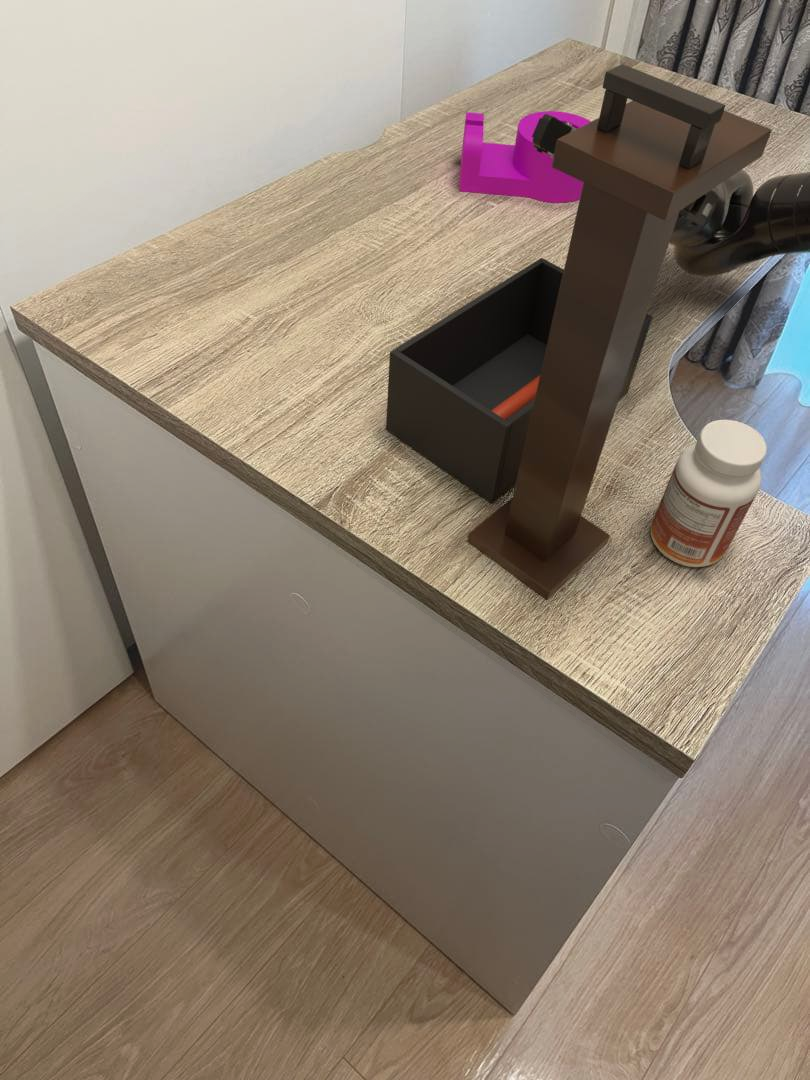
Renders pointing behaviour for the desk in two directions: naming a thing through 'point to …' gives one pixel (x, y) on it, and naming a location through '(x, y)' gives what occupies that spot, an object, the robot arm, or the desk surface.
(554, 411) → the brown pedestal stand
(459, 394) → the bin
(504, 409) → the orange red rod
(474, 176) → the tape dispenser
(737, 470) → the pill bottle
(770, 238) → the robot arm
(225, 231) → the desk surface
